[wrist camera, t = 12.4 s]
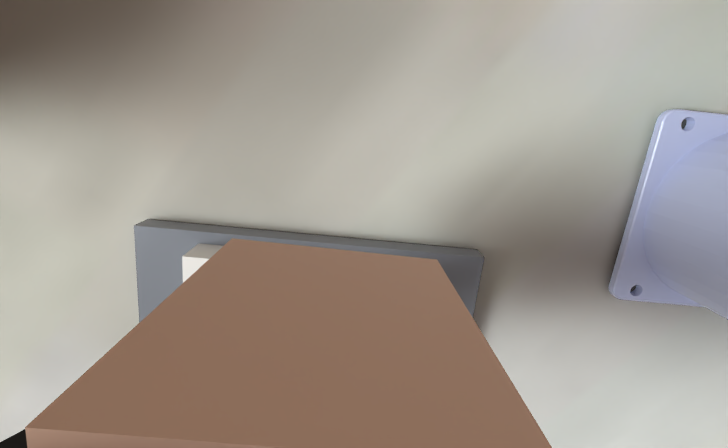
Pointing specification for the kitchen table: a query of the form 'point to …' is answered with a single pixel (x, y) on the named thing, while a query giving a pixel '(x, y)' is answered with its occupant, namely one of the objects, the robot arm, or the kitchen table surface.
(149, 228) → the shape board
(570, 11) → the kitchen table surface
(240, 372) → the terracotta block
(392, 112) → the kitchen table surface
